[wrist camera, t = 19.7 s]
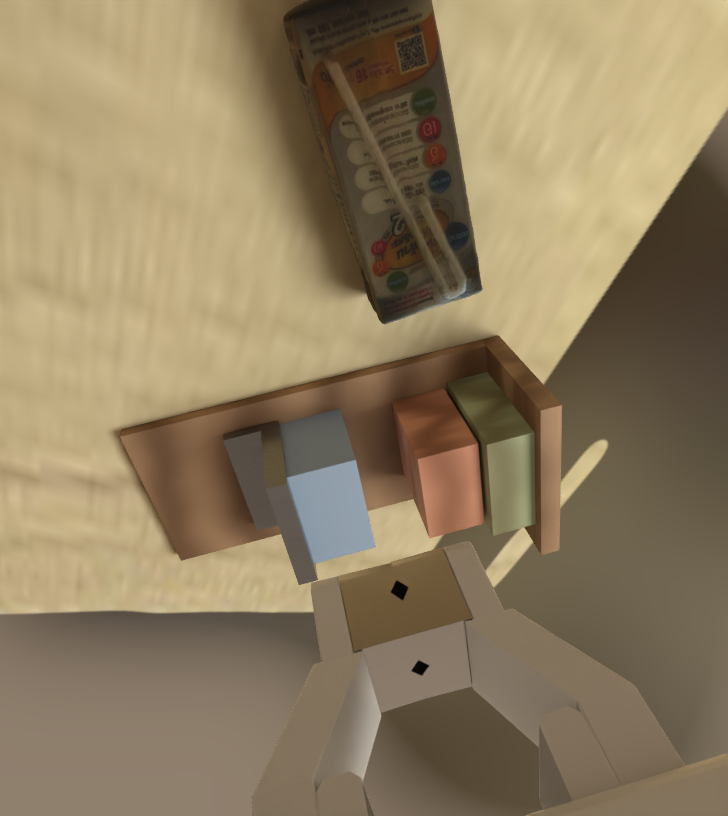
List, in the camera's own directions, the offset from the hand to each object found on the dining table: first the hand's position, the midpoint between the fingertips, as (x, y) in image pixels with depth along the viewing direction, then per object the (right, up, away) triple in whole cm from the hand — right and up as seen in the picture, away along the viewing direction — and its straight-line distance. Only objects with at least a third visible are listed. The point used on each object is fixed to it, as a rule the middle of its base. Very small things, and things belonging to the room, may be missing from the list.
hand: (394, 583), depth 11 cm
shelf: (-3, 0, +40) cm, 41 cm away
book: (-4, -1, +39) cm, 40 cm away
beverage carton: (+1, +20, +29) cm, 35 cm away
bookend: (-9, -2, +39) cm, 40 cm away
